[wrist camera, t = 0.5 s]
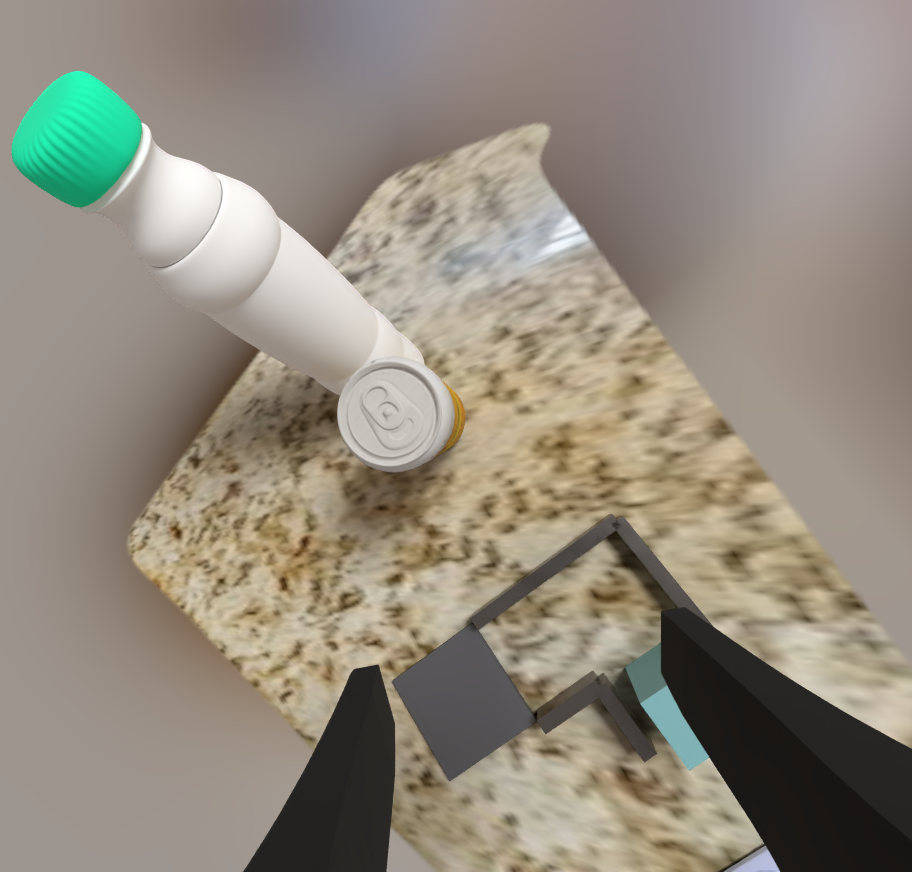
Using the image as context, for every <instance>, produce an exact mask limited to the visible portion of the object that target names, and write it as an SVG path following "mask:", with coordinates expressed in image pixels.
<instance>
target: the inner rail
mask: <svg viewBox="0 0 912 872" xmlns="http://www.w3.org/2000/svg"><path fill="white" fill-rule="evenodd" d="M598 698H599V699H600V700H601V702H602V703H603V704H604V706H605V707H606V709H607V710H608V711H609V713H610V714H611V716H612V717H613V719H614V720H615V721H616V723H617V724H618V726H619V727H620V728H621V730H622V731H623V733H624V734H625V736H626V737H627V738H628V740H629V741H630V743H631V744H632V745H633V747H634V748H635V750H636V751H637V753H638V754H639V755H640V757H641V758H642V760H643V761H644V762H645V761H647V760H648V759H650V758H651V757H653V756H654V755H656V754H657V753H656V750H655V747H654V745H653V742H652V740H651V738H650V737H649V735H648V734H647V733H646V731H645V730H644V728H643V727H642V726H641V724H640V723H639V722H638V720H637V719H636V717H635V716H634V715H633V713H632V712H631V710H630V709H629V708H628V706H627V705H626V704H625V702H624V701H623V699H622V698H621V697H620V695H619V694H618V692H617V691H616V690H615V688H614V687H613V686H612V684H611V683H610V681H609V680H608V679H607V677H606V676H605V674H604V673H602V674H601V675H600V676H597V675H596V674H595V672H594V671H592V672H590V673H589V674H587V675H586V676H584V677H583V678H581V679H580V680H579V681H577V682H576V683H574V684H573V685H571V686H570V687H568V688H567V689H566V690H564V691H563V692H561V693H560V694H558V695H557V696H555V697H554V698H553V699H551V700H550V701H548V702H547V703H545V704H544V705H542V706H541V707H540V708H538V712H537V722H538V723H539V725H540V726H541V728H542V729H543V731H544V732H545V734H547V733H548V732H550V731H551V730H553V729H554V728H556V727H557V726H558V725H560V724H561V723H563V722H564V721H566V720H567V719H569V718H570V717H572V716H573V715H575V714H576V713H577V712H579V711H580V710H582V709H583V708H585V707H586V706H588V705H589V704H591V703H592V702H594V701H595V700H597V699H598Z"/></svg>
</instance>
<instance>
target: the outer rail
mask: <svg viewBox="0 0 912 872" xmlns="http://www.w3.org/2000/svg"><path fill="white" fill-rule="evenodd" d="M614 531H615V532H616V533H617V534H618V536H619V537H620V538H621V539H622V541H623V542H624V543H625V544H626V546H627V547H628V548H629V549H630V551H631V552H632V553H633V554H634V555H635V557H636V558H637V559H638V560H639V562H640V563H641V564H642V565H643V567H644V568H645V569H646V570H647V572H648V573H649V574H650V575H651V577H652V578H653V579H654V580H655V582H656V583H657V584H658V585H659V587H660V588H661V589H662V590H663V592H664V593H665V594H666V595H667V597H668V598H669V599H670V600H671V602H672V603H673V604H674V605H675V606H676V608H682V607H686V608H687V609H688V610H690V611H691V612H693V613H694V614H696V615H697V616H699V617H700V618H701V619H703V620H704V621H706V622H707V623H709V624H710V625H711V626H712V624H711V623H710V622H709V621H708V619H707V618H706V617H705V616H704V615H703V613H702V612H701V611H700V610H699V608H698V607H697V606H696V605H695V604H694V602H693V601H692V600H691V599H690V598H689V596H688V595H687V594H686V593H685V591H684V590H683V589H682V588H681V587H680V585H679V584H678V583H677V582H676V580H675V579H674V578H673V577H672V576H671V574H670V573H669V572H668V571H667V569H666V568H665V567H664V566H663V565H662V563H661V562H660V561H659V560H658V558H657V557H656V556H655V555H654V554H653V552H652V551H651V550H650V549H649V547H648V546H647V545H646V544H645V543H644V541H643V540H642V539H641V538H640V536H639V535H638V534H637V533H636V532H635V530H634V529H633V528H632V527H631V525H630V524H629V523H628V522H627V521H626V519H625V518H624V517H623V516H618V517H617V518H615V517H614V516H613V515H612V514H609V515H608V516H606V517H605V518H604V519H602V520H601V521H600V522H598V523H597V524H596V525H594V526H593V527H591V528H590V529H589V530H587V531H586V532H585V533H583V534H582V535H580V536H579V537H578V538H576V539H575V540H574V541H572V542H571V543H569V544H568V545H567V546H565V547H564V548H563V549H561V550H560V551H558V552H557V553H556V554H554V555H553V556H552V557H550V558H549V559H547V560H546V561H545V562H543V563H542V564H541V565H539V566H538V567H536V568H535V569H534V570H532V571H531V572H530V573H528V574H527V575H526V576H524V577H523V578H521V579H520V580H519V581H517V582H516V583H515V584H513V585H512V586H510V587H509V588H508V589H506V590H505V591H504V592H502V593H501V594H499V595H498V596H497V597H495V598H494V599H493V600H491V601H490V602H488V603H487V604H486V605H484V606H483V607H482V608H480V609H479V610H477V611H476V612H475V613H474V614H473V615H472V616H471V618H470V619H471V621H472V622H473V624H474V625H475V627H476V628H477V630H479V629H480V628H482V627H483V626H484V625H486V624H487V623H488V622H490V621H491V620H493V619H494V618H495V617H497V616H498V615H500V614H501V613H502V612H504V611H505V610H506V609H508V608H509V607H511V606H512V605H513V604H515V603H516V602H518V601H519V600H520V599H522V598H523V597H524V596H526V595H527V594H529V593H530V592H531V591H533V590H534V589H535V588H537V587H538V586H540V585H541V584H542V583H544V582H545V581H547V580H548V579H549V578H551V577H552V576H553V575H555V574H556V573H558V572H559V571H560V570H562V569H563V568H564V567H566V566H567V565H569V564H570V563H571V562H573V561H574V560H576V559H577V558H578V557H580V556H581V555H582V554H584V553H585V552H587V551H588V550H589V549H591V548H592V547H594V546H595V545H596V544H598V543H599V542H600V541H602V540H603V539H605V538H606V537H607V536H609V535H610V534H611V533H613V532H614Z"/></svg>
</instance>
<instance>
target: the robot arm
mask: <svg viewBox="0 0 912 872" xmlns="http://www.w3.org/2000/svg"><path fill="white" fill-rule="evenodd" d="M661 674H662V676H663V678H664V680H665V682H666V684H667V686H668V688H669V690H670V692H671V694H672V696H673V698H674V700H675V702H676V704H677V706H678V708H679V710H680V711H681V713H682V715H683V717H684V719H685V720H686V722H687V723H688V725H689V727H690V728H691V730H692V731H693V733H694V734H695V736H696V737H697V739H698V741H699V742H700V744H701V745H702V747H703V748H704V750H705V751H706V753H707V755H708V756H709V758H710V759H711V761H712V762H713V764H714V765H715V767H716V768H717V770H718V771H719V773H720V775H721V776H722V778H723V779H724V781H725V782H726V784H727V785H728V787H729V788H730V790H731V791H732V793H733V795H734V796H735V798H736V799H737V801H738V802H739V804H740V805H741V807H742V808H743V810H744V811H745V813H746V815H747V816H748V818H749V819H750V821H751V822H752V824H753V826H754V827H755V829H756V831H757V832H758V834H759V836H760V837H761V839H762V840H763V842H764V844H765V845H766V846H764V847H762V848H761V849H759V850H758V851H756V852H754V853H753V854H751V855H750V856H748V857H746V858H745V859H743V860H741V861H740V862H738V863H737V864H735V865H733V866H732V867H730V868H729V869H727V870H725V871H724V872H912V749H911V748H909V747H907V746H905V745H903V744H902V743H900V742H898V741H896V740H894V739H892V738H890V737H889V736H887V735H885V734H883V733H881V732H879V731H878V730H876V729H874V728H872V727H870V726H868V725H867V724H865V723H863V722H861V721H859V720H858V719H856V718H854V717H852V716H851V715H849V714H847V713H845V712H844V711H842V710H840V709H838V708H837V707H835V706H833V705H832V704H830V703H828V702H827V701H825V700H824V699H822V698H820V697H819V696H817V695H815V694H814V693H812V692H810V691H809V690H807V689H805V688H804V687H802V686H801V685H799V684H797V683H796V682H794V681H793V680H791V679H790V678H788V677H786V676H785V675H783V674H782V673H780V672H779V671H777V670H776V669H774V668H773V667H771V666H770V665H768V664H767V663H765V662H764V661H762V660H761V659H759V658H758V657H756V656H755V655H753V654H752V653H750V652H749V651H747V650H746V649H744V648H743V647H741V646H740V645H739V644H737V643H736V642H734V641H733V640H731V639H730V638H728V637H727V636H726V635H724V634H723V633H721V632H720V631H718V630H717V629H716V628H714V627H713V626H711V625H710V624H709V623H707V622H706V621H704V620H703V619H701V618H700V617H699V616H697V615H696V614H694V613H693V612H691V611H690V610H688V609H687V608H686V607H682V608H676V609H671V610H666V611H661ZM394 780H395V722H394V719H393V715H392V711H391V708H390V704H389V701H388V697H387V693H386V690H385V686H384V683H383V679H382V675H381V672H380V668H379V665H373V666H368V667H363V668H357V669H354V670H353V671H352V672H351V674H350V676H349V679H348V681H347V683H346V686H345V688H344V690H343V692H342V695H341V697H340V699H339V701H338V703H337V706H336V708H335V710H334V712H333V714H332V716H331V718H330V720H329V723H328V725H327V727H326V729H325V731H324V733H323V735H322V737H321V739H320V741H319V743H318V745H317V747H316V748H315V750H314V752H313V754H312V757H311V758H310V760H309V762H308V764H307V766H306V768H305V770H304V772H303V773H302V775H301V777H300V779H299V780H298V782H297V784H296V786H295V788H294V789H293V791H292V793H291V795H290V796H289V798H288V800H287V802H286V804H285V805H284V807H283V809H282V811H281V812H280V814H279V816H278V817H277V819H276V821H275V822H274V824H273V826H272V827H271V829H270V831H269V832H268V834H267V835H266V837H265V839H264V840H263V842H262V843H261V845H260V847H259V848H258V850H257V851H256V853H255V855H254V856H253V857H252V859H251V861H250V863H249V864H248V865H247V867H246V868H245V870H244V871H243V872H386V869H387V857H388V847H389V836H390V826H391V815H392V803H393V792H394Z"/></svg>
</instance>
